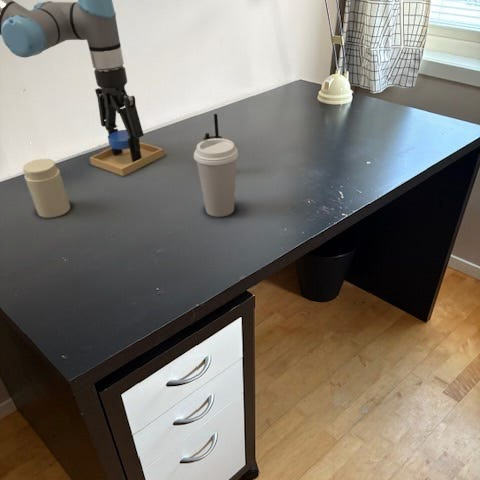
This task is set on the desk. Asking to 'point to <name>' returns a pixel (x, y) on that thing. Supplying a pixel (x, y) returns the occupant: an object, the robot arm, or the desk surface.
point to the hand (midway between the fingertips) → (127, 157)
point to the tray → (126, 159)
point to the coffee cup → (217, 174)
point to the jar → (46, 188)
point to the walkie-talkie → (215, 130)
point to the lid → (119, 139)
